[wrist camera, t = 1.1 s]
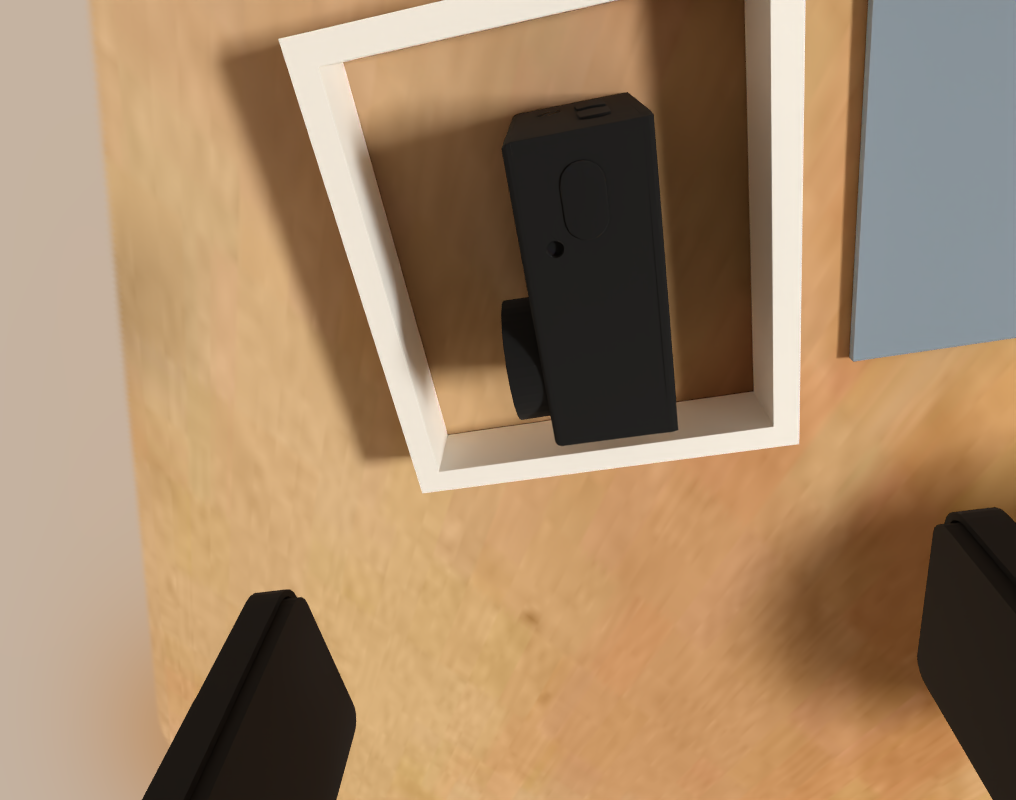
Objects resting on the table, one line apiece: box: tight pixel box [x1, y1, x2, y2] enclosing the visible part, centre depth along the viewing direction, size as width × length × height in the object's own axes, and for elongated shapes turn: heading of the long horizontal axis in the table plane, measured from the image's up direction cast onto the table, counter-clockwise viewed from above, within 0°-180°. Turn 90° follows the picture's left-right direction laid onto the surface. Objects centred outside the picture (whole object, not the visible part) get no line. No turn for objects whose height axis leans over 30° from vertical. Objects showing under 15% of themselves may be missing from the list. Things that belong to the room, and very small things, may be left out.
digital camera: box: [501, 92, 678, 446], centre depth 24 cm, size 10×5×7 cm, turn 11°
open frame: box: [278, 0, 805, 493], centre depth 26 cm, size 18×16×3 cm
